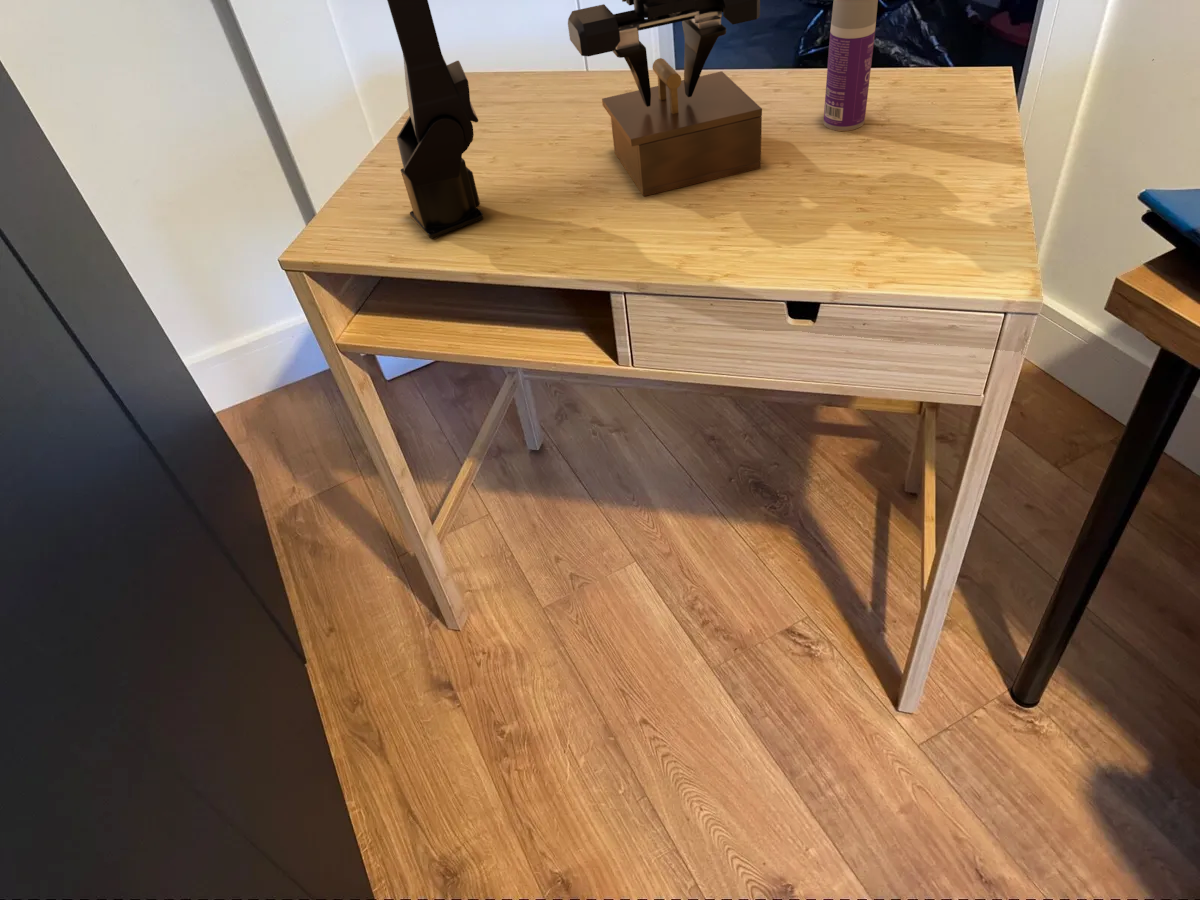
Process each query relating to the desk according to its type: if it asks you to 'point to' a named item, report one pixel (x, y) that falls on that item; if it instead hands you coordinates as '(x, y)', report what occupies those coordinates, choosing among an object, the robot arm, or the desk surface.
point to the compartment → (691, 156)
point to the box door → (679, 106)
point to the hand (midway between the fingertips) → (668, 100)
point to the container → (849, 63)
